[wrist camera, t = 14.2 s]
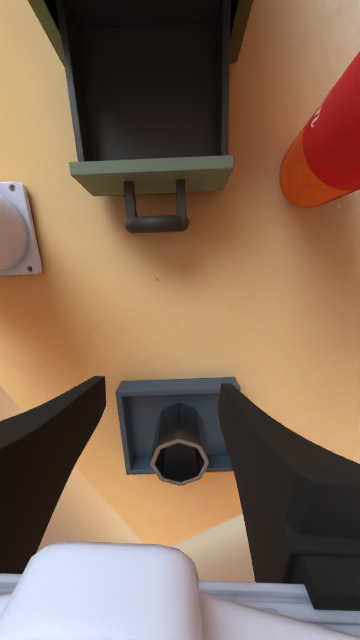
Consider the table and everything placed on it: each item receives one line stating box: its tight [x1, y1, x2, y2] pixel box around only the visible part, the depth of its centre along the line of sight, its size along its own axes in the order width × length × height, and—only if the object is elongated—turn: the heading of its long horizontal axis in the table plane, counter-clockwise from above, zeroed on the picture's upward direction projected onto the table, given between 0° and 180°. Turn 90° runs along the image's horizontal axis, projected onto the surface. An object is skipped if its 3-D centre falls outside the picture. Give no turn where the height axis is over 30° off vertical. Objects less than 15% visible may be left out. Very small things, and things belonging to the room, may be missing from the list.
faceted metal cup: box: [150, 403, 209, 486], centre depth 20 cm, size 5×5×5 cm
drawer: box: [56, 0, 234, 234], centre depth 14 cm, size 11×15×4 cm
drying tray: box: [116, 377, 240, 475], centre depth 22 cm, size 13×11×2 cm
